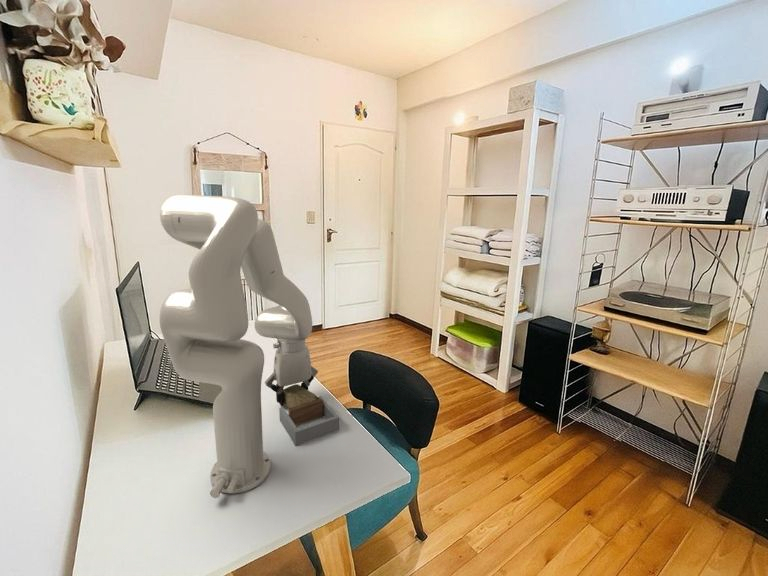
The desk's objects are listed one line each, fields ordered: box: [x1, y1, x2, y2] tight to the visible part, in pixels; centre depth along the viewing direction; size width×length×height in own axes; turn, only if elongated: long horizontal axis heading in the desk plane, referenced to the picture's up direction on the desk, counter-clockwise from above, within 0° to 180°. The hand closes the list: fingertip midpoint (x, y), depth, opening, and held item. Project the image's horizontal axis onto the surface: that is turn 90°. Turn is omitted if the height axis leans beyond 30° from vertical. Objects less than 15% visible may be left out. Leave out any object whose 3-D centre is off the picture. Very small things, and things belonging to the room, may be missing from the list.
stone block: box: [282, 383, 319, 408], centre depth 104 cm, size 6×12×5 cm, turn 50°
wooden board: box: [287, 399, 324, 426], centre depth 98 cm, size 1×10×5 cm, turn 125°
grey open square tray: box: [278, 395, 341, 447], centre depth 97 cm, size 12×12×4 cm
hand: (292, 399), depth 107 cm, fingers closed on stone block, 6 cm apart
